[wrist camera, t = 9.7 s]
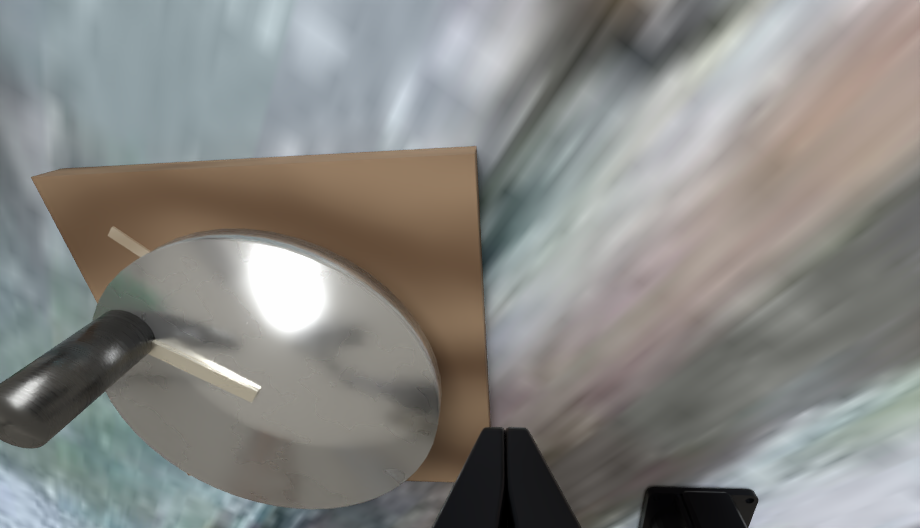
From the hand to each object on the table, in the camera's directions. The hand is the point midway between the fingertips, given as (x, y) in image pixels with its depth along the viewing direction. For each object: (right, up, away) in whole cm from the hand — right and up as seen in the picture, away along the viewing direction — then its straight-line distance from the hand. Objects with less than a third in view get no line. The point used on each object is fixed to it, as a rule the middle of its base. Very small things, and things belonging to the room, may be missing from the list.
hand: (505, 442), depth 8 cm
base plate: (-9, -1, +16) cm, 18 cm away
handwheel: (-10, -2, +14) cm, 17 cm away
